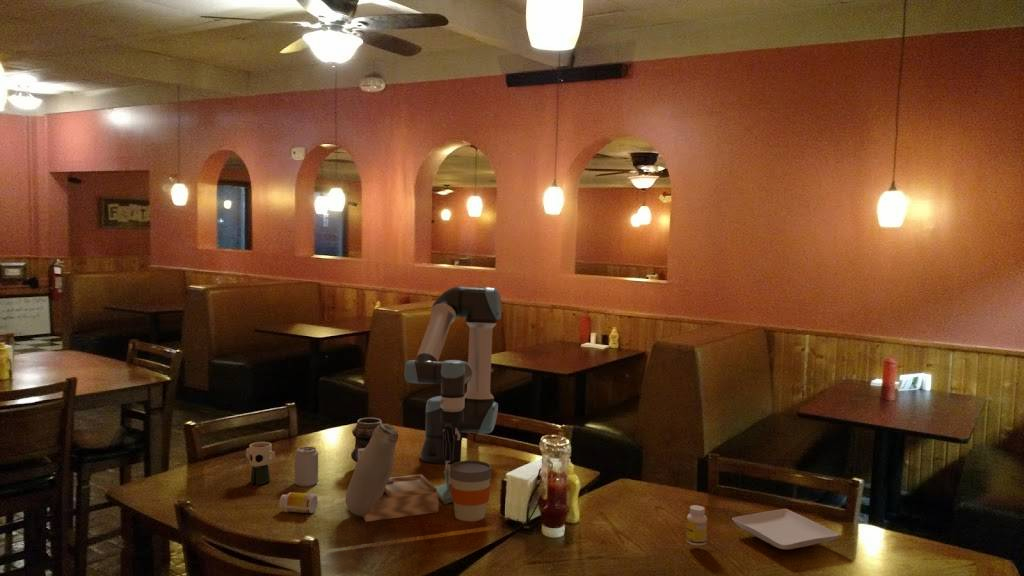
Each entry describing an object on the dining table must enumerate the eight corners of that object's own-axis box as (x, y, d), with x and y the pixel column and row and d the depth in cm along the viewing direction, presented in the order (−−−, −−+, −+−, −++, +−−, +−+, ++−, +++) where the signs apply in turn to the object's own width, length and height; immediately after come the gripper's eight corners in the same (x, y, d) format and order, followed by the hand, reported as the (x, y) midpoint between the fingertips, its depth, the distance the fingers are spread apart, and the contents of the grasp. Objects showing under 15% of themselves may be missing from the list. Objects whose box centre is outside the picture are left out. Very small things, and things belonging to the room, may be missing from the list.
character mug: (239, 484, 244) (239, 445, 243) (253, 478, 251) (253, 440, 250) (267, 488, 241) (267, 449, 240) (280, 481, 247) (281, 443, 247)
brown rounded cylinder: (379, 515, 221) (412, 431, 218) (360, 525, 212) (394, 437, 208) (353, 499, 225) (385, 416, 221) (334, 508, 215) (366, 421, 212)
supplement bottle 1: (317, 490, 222) (284, 487, 223) (310, 501, 217) (276, 498, 218) (319, 505, 224) (286, 503, 225) (312, 517, 219) (279, 514, 220)
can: (321, 481, 249) (321, 446, 248) (313, 488, 242) (313, 452, 241) (299, 479, 250) (299, 444, 249) (291, 487, 242) (291, 451, 242)
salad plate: (782, 556, 198) (782, 544, 198) (729, 527, 218) (730, 516, 218) (840, 545, 207) (841, 533, 207) (785, 518, 226) (785, 507, 226)
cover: (467, 480, 246) (462, 457, 245) (480, 491, 235) (476, 468, 234) (433, 492, 241) (428, 469, 240) (445, 504, 230) (440, 480, 229)
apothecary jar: (391, 472, 260) (392, 421, 259) (359, 477, 254) (359, 426, 252) (377, 463, 270) (377, 414, 269) (345, 468, 264) (346, 418, 262)
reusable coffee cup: (459, 526, 213) (460, 475, 212) (442, 511, 224) (443, 463, 223) (498, 519, 219) (499, 469, 218) (480, 505, 230) (481, 458, 229)
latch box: (422, 494, 238) (422, 473, 238) (438, 512, 224) (438, 489, 223) (354, 503, 229) (354, 481, 229) (365, 521, 215) (365, 497, 214)
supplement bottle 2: (683, 538, 208) (684, 504, 208) (702, 538, 209) (703, 504, 208) (689, 546, 203) (691, 511, 202) (708, 546, 204) (710, 511, 203)
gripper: (433, 405, 241) (432, 476, 242) (449, 415, 227) (448, 490, 228) (455, 403, 244) (454, 474, 246) (472, 413, 230) (470, 488, 231)
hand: (451, 482), depth 237 cm, fingers closed on cover, 2 cm apart
